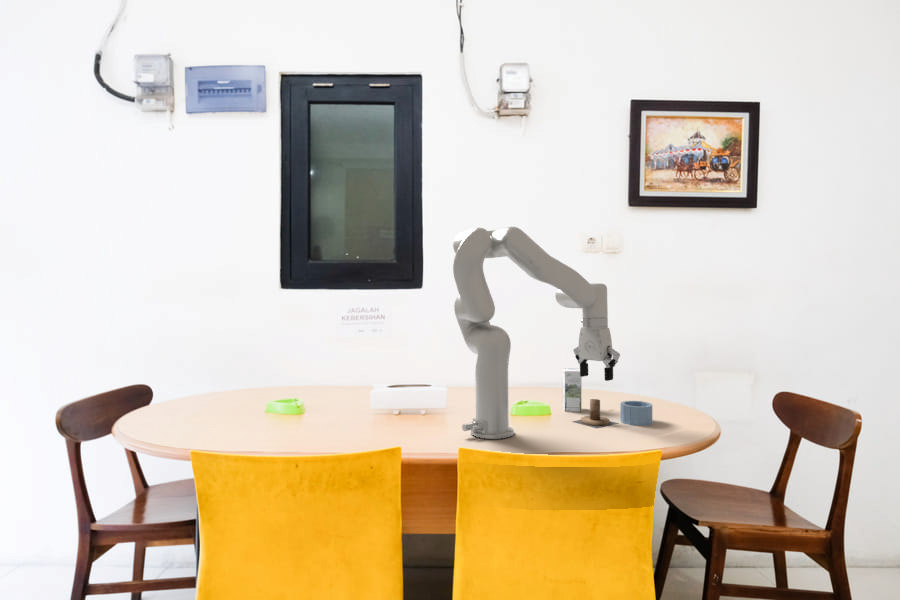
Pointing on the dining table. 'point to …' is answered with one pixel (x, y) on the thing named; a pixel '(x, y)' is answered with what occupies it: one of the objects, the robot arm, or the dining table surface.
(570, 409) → the syrup box
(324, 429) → the dining table surface
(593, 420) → the lid
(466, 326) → the robot arm
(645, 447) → the dining table surface
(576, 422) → the mat
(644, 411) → the blue round pot
